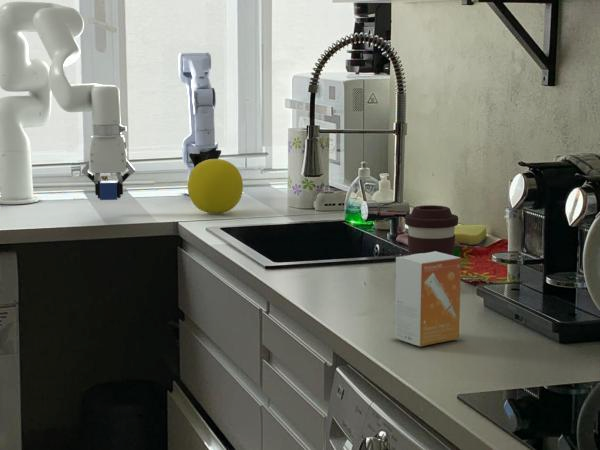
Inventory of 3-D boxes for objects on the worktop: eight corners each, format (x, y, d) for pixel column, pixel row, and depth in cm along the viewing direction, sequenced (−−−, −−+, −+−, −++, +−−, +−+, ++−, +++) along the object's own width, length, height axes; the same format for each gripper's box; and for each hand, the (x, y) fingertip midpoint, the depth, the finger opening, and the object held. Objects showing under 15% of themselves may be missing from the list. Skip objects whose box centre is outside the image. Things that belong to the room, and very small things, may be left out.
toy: (233, 207, 298) (232, 155, 296) (250, 215, 284) (249, 160, 281) (182, 210, 293) (181, 157, 290) (196, 219, 279) (195, 163, 276)
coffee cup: (400, 280, 202) (400, 204, 200) (450, 279, 203) (451, 203, 201) (409, 292, 193) (410, 212, 190) (462, 291, 193) (463, 211, 191)
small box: (420, 347, 157) (421, 263, 155) (394, 338, 162) (394, 256, 160) (460, 339, 162) (462, 256, 159) (433, 330, 167) (434, 250, 165)
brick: (117, 199, 284) (116, 182, 283) (100, 200, 284) (99, 183, 283) (118, 197, 289) (118, 180, 288) (101, 197, 289) (101, 180, 288)
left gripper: (139, 129, 288) (141, 195, 291) (76, 130, 286) (79, 196, 289) (137, 131, 280) (139, 199, 284) (73, 132, 279) (76, 200, 282)
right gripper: (202, 127, 315) (203, 172, 317) (182, 131, 301) (183, 178, 303) (223, 128, 313) (224, 173, 315) (204, 131, 299) (205, 179, 301)
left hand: (109, 196), depth 286 cm, fingers closed on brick, 4 cm apart
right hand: (205, 175), depth 309 cm, fingers open, 7 cm apart
